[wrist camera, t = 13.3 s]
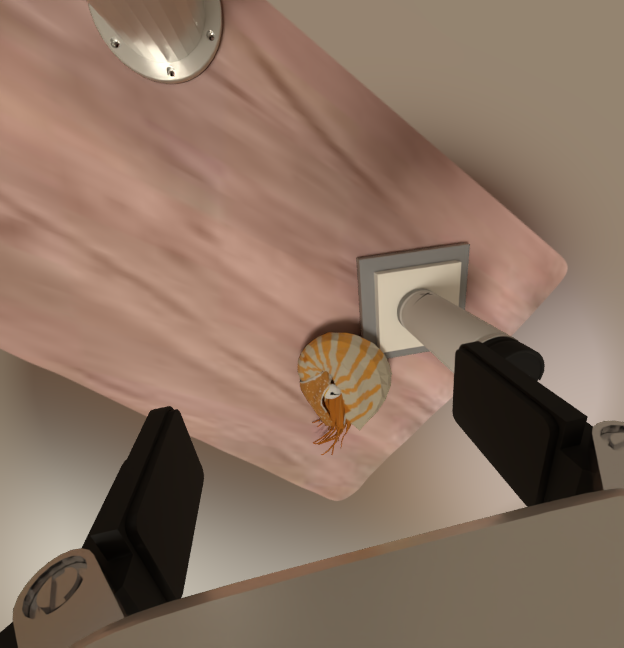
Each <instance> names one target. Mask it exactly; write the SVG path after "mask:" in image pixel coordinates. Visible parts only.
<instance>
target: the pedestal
mask: <svg viewBox="0 0 624 648" xmlns="http://www.w3.org/2000/svg"><path fill="white" fill-rule="evenodd" d="M469 248H470V244H467V243H458V244H451V245H444V246H437V247H430V248H423V249H416V250H409V251H402V252H395V253H388V254H381V255H374V256H367V257H360V258H356V262H357V278H358V295H359V312H360V328H361V337H362V338H364V339H366V340H368V341H370V342H372V343H374V344H375V345H376V346H377V347H378V348H379V349H380V350H381V351H382V352H383V353H384V355H385V356H386V359H388V358H393V357H399V356H405V355H411V354H417V353H422V352H428V351H429V350H428V349H427V348H426V347H425V346H424V345H423V344H422V343H421V342H419V341H418V340H417V339H416V338H415V337H414V336H413V335H412V334H411V333H410V332H409V331H408V330H407V329H406V328H404V327H403V326H402V325H401V324H400V322H399V320H398V318H397V308H398V305H399V303H400V301H401V299H402V298H403V297H404V296H405V295H406V294H407V293H409V292H410V291H412V290H415V289H421V288H423V289H428V290H430V291H432V292H434V293H435V294H437V295H439V296H441V297H442V298H444V299H446V300H448V301H450V302H451V303H453V304H455V305H457V306H458V307H460V308H462V309H464V310H465V302H466V288H467V275H468V261H469Z"/></svg>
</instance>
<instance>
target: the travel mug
mask: <svg viewBox="0 0 624 648" xmlns="http://www.w3.org/2000/svg"><path fill="white" fill-rule="evenodd" d="M397 318H398V320H399V322H400V324H401V325H402V326H403V327H404V328H406V329H407V330H408V331H409V332H410V333H411V334H412V335H413V336H414V337H415V338H416V339H417V340H418V341H419V342H421V343H422V344H423V345H424V346H425V347H426V348H427V349H428V350H429V351H430V352H431V353H432V354H433V355H435V356H436V357H437V358H438V359H439V360H440V361H441V362H442V363H443V364H444V365H445V366H446V367H447V368H448V369H450V370H451V371H452V372H453V373H454V367H455V352H456V350H457V349H459V347H460V345H462V344H465V343H470V342H475V341H480V342H482V343H483V344H485V345H486V346H487V347H489V348H490V349H492V350H493V351H495V352H496V353H497V354H499V355H500V356H502V357H503V358H505V359H506V360H507V361H509V362H510V363H512V364H513V365H515V366H516V367H517V368H519V369H520V370H522V371H523V372H525V373H526V374H527V375H529V376H530V377H532V378H533V379H535V380H536V381H538V379H539V380H540V379H541V377H542V375H543V373H544V360H543V357H542V356H541V355H540V354H539V353H538V352H536V351H535V350H533V349H531V348H530V347H528V346H526V345H524V344H522V343H520V342H519V341H518V340H516V339H515V338H513V337H511V336H509V335H508V334H506V333H504V332H503V331H501V330H499V329H497V328H496V327H494V326H492V325H490V324H488V323H487V322H485V321H483V320H481V319H480V318H478V317H476V316H474V315H473V314H471V313H469V312H467V311H465V310H464V309H462V308H460V307H458V306H457V305H455V304H453V303H451V302H450V301H448V300H446V299H444V298H442V297H441V296H439V295H437V294H435V293H434V292H432V291H430V290H428V289H423V288H421V289H415V290H412V291H410V292H409V293H407V294H406V295H405V296H404V297H403V298H402V299H401V301H400V303H399V305H398V308H397Z"/></svg>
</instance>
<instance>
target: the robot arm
mask: <svg viewBox="0 0 624 648" xmlns="http://www.w3.org/2000/svg"><path fill="white" fill-rule="evenodd" d="M87 1H88V6H89V10H90V13H91V16H92V18H93V21H94V24H95V26H96V28H97V29H98V31H99V33H100V35H101V37H102V39H103V40H104V42H105V43H106V44H107V46H108V47H109V48H110V50H111V51H112V52H113V53H114V54H115V55H116V56H117V57H118V58H119V59H120V60H121V61H122V62H123V63H124V64H125V65H126V66H127V67H129V68H130V69H131V70H132V71H134V72H136V73H137V74H139V75H140V76H142V77H144V78H147V79H149V80H152V81H154V82H159V83H164V84H178V83H182V82H185V81H189V80H191V79H193V78H194V77H196V76H198V75H199V74H200V73H201V72H203V71H204V70H205V69H206V68H207V67H208V65H209V64H210V62H211V61H212V60H213V58H214V56H215V53H216V51H217V49H218V47H219V42H220V38H221V33H222V11H221V3H220V0H87ZM210 37H214V40H213V41H210V40H209V39H210ZM117 44H120V46H119V47H118V48H116V45H117ZM172 72H174V73H175V76H174V77H172V76H171V73H172ZM453 417H454V419H455V421H456V422H457V424H458V425H459V426H460V427H461V428H462V430H463V431H464V432H465V433H466V434H467V436H468V437H469V438H470V439H471V440H472V442H473V443H474V444H475V445H476V446H477V447H478V449H479V450H480V451H481V452H482V453H483V454H484V456H485V457H486V458H487V459H488V461H489V462H490V463H491V464H492V465H493V466H494V468H495V469H496V470H497V471H498V473H499V474H500V475H501V476H502V477H503V479H504V480H505V481H506V482H507V483H508V484H509V486H510V487H511V488H512V489H513V490H514V492H515V493H516V494H517V495H518V496H519V498H520V499H521V500H522V501H523V502H524V503H525V505H526V506H528V507H525V508H522V509H518V510H514V511H510V512H506V513H502V514H498V515H494V516H490V517H486V518H482V519H478V520H474V521H470V522H466V523H463V524H458V525H454V526H451V527H447V528H443V529H439V530H435V531H431V532H428V533H423V534H419V535H415V536H412V537H408V538H404V539H400V540H396V541H392V542H389V543H385V544H381V545H377V546H373V547H369V548H365V549H362V550H358V551H354V552H350V553H346V554H342V555H339V556H335V557H331V558H327V559H324V560H320V561H316V562H313V563H308V564H305V565H301V566H297V567H293V568H290V569H286V570H282V571H279V572H275V573H271V574H267V575H263V576H260V577H256V578H252V579H248V580H245V581H241V582H237V583H233V584H230V585H226V586H223V587H219V588H216V589H212V590H209V591H206V592H202V593H198V594H195V595H191V596H188V597H185V598H181V597H182V594H183V589H184V585H185V579H186V574H187V568H188V563H189V558H190V552H191V547H192V541H193V535H194V530H195V525H196V520H197V514H198V509H199V503H200V498H201V492H202V487H203V481H204V473H203V469H202V466H201V464H200V461H199V459H198V456H197V454H196V451H195V449H194V446H193V443H192V441H191V438H190V436H189V433H188V431H187V428H186V426H185V423H184V421H183V418H182V416H181V413H180V411H179V410H178V409H176V410H174V409H173V408H172V407H171V406H168V407H163V408H158V409H154V410H151V411H150V412H149V414H148V416H147V418H146V421H145V423H144V425H143V427H142V429H141V431H140V433H139V435H138V437H137V439H136V442H135V443H134V446H133V448H132V450H131V452H130V454H129V456H128V458H127V460H125V462H124V463H123V465H122V466H121V468H120V470H119V473H118V474H117V477H116V479H115V481H114V483H113V485H112V487H111V489H110V491H109V493H108V495H107V497H106V499H105V501H104V503H103V505H102V507H101V509H100V511H99V513H98V515H97V518H96V520H95V522H94V524H93V526H92V528H91V530H90V532H89V534H88V536H87V538H86V540H85V542H84V544H83V546H82V548H81V549H74V550H70V551H68V552H66V553H63V554H61V555H59V556H58V557H56V558H54V559H53V560H51V561H50V562H48V563H47V564H46V565H45V566H44V567H42V568H41V569H40V570H39V571H38V572H37V573H36V574H35V575H34V576H33V577H32V578H31V580H30V581H29V582H28V583H27V584H26V585H25V587H24V588H23V590H22V592H21V593H20V595H19V596H18V598H17V601H16V603H15V606H14V608H13V622H12V623H11V624H10V625H9V626H7V627H6V628H5V629H4V630H3V631H1V632H0V648H624V422H619V421H603V422H600V423H597V424H596V425H595V426H594V427H593V426H591V425H590V424H589V423H587V422H586V421H587V416H586V415H584V414H583V413H581V412H580V411H579V410H577V409H576V408H574V407H573V406H572V405H570V404H569V403H567V402H566V401H564V400H563V399H562V398H560V397H559V396H557V395H556V394H554V393H553V392H551V391H550V390H549V389H547V388H546V387H544V386H543V385H542V384H540V383H539V382H537V381H536V380H535V379H533V378H532V377H530V376H529V375H527V374H526V373H525V372H523V371H522V370H520V369H519V368H517V367H516V366H515V365H513V364H512V363H510V362H509V361H507V360H506V359H505V358H503V357H502V356H500V355H499V354H497V353H496V352H495V351H493V350H492V349H490V348H489V347H487V346H486V345H485V344H483V343H482V342H480V341H475V342H470V343H465V344H462V345H460V347H459V349H457V350H456V352H455V367H454V389H453Z"/></svg>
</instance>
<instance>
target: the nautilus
mask: <svg viewBox="0 0 624 648" xmlns="http://www.w3.org/2000/svg"><path fill="white" fill-rule="evenodd" d="M298 374H299V377H300V387H301V391H302V392H303V394H304V396H305V397H306V399H307V401H308V402H309V404H310V405H311V406H312V408H313V409H314V411H315V412H316V414H317V415H318V416H319V417H320V420H321V421H322V422H323V423H325V424H326V425H325V426H327V425H328V426H329V428H330V426H331V429H330V431H329V432H328V433H326V434H325V435H324V436H323V437H325V438H326V437H327V436H328V435H329V433H330V432H331V431H332V430H334V431H333V432H332V433H331V434H330V435H329V436H328V437H327V438H326V439H325V438H323V437H321V438H320V439H322V438H323V439H322V440H324V439H325V440H324V441H322V440H321V441H322V442H321V441H320V442H318V443H315V442H317V441H319V440H320V439H318V440H316V441H315V442H313V444H318V445H320V444H322V443H325V442H328V441H331V440H334V439H335V441H334V443H333V445H332V446H331V447H330V448H329V449H328V450H327V451H326V452H325V453H327V452H328V451H329V450H330V449H331V448H332V447H333V450H334V445H335V443H336V442H337V440H338V441H339V437H338V436H340V434H342V432H343V429H344V428H345V427H346V424H347V428H346V433H347V431H348V430H349V428H350V426H351V424H353V425H354V426H355V427H356V428H357V429H359V430H361V429H362V427H363V426H364V425H365V424H366V423H367V422H368V421H369V420H370V419H371V418H372V417H373V416H374V415H375V414H376V413H377V412H378V410H379V409H380V407H381V405H382V404H383V402H384V401H385V399H386V397H387V394H388V391H389V389H390V386H391V375H392V373H391V369H390V365H389V363H388V361H387V359H386V356H385V355H384V353H383V352H382V351H381V350H380V349H379V348H378V347H377V346H376V345H375V344H374V343H372V342H370V341H368V340H366V339H364V338H362V337H360V336H358V335H354V334H350V333H334V332H328V333H326V334H323V335H321V336H319V337H317V338H315V339H314V340H313V341H311V342H310V343H309V344H308V345H307V346H306V347H305V348H304V350H303V351H302V353H301V355H300V357H299V359H298ZM320 420H317V421H320ZM317 421H315V422H317ZM315 422H312V423H315ZM323 423H321V424H323ZM321 424H320V425H321ZM320 425H319V426H320ZM319 426H317V427H319ZM334 426H335V429H334ZM329 428H328V430H329ZM336 429H337V432H336V434H335V435H333V436H332V437H330V436H331V435H332V434H333V433H334V432H335V430H336ZM328 430H327V431H328ZM346 433H345V434H346ZM345 434H344V436H345ZM335 436H336V437H335ZM344 436H343V437H344ZM329 437H330V438H329ZM333 437H334V438H333ZM328 438H329V439H328ZM331 438H332V439H331ZM342 440H343V438H342ZM341 447H342V441H341ZM333 450H332V454H333ZM325 453H324V454H325ZM324 454H321V455H324Z"/></svg>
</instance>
